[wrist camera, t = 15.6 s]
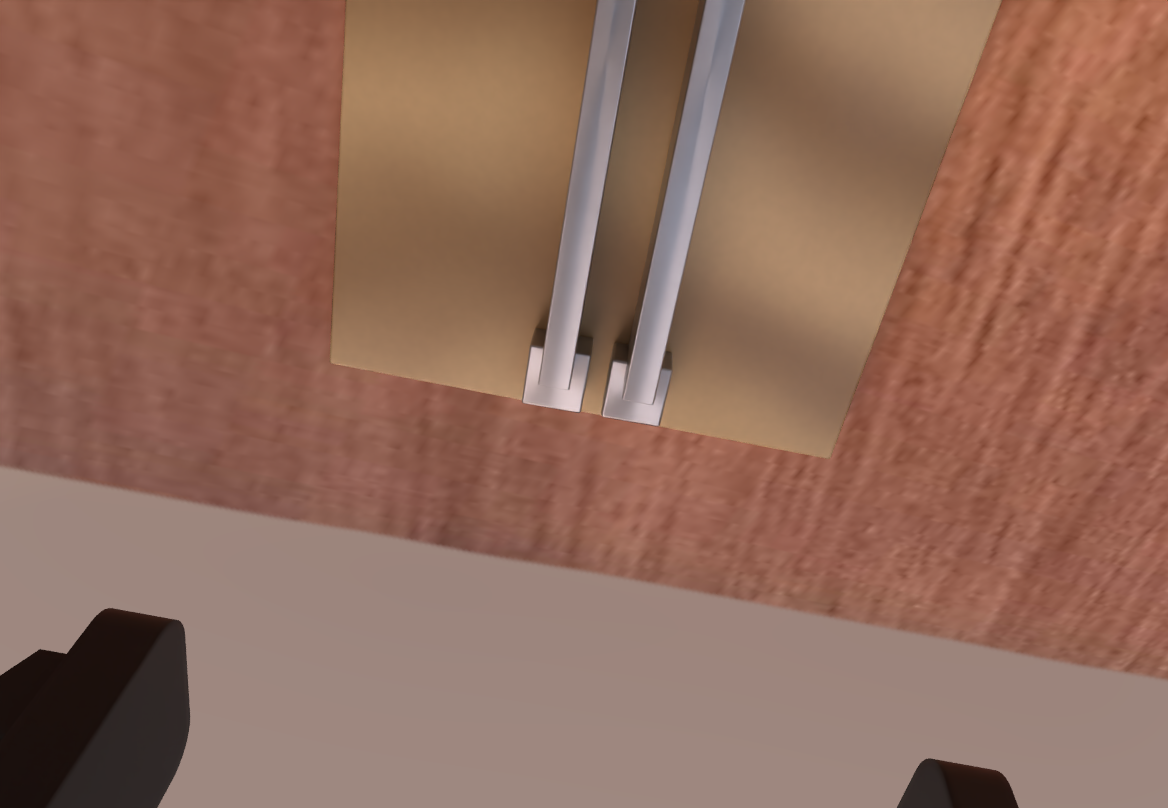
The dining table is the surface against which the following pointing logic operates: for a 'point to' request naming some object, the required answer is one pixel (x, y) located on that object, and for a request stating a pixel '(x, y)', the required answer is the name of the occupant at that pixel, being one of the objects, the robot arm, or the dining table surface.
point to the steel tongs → (645, 361)
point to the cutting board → (642, 195)
